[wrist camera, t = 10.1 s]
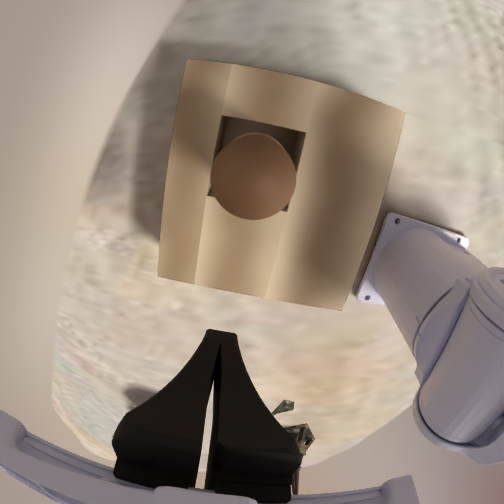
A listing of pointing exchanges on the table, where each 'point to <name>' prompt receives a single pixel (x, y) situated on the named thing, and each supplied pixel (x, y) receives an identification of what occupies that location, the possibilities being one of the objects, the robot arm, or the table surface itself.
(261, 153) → the peg
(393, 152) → the socket block
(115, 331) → the table surface
